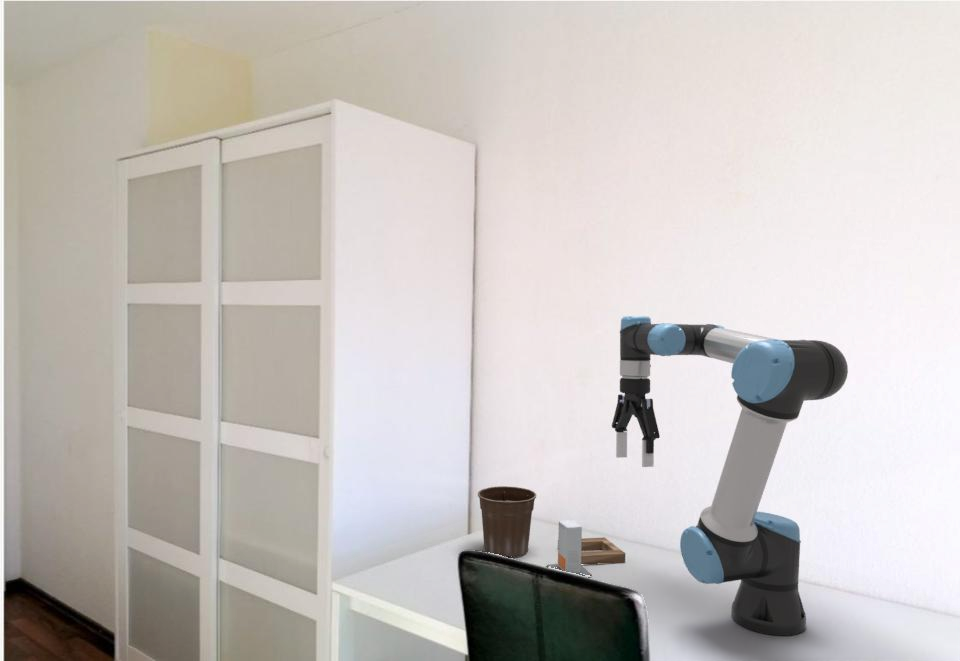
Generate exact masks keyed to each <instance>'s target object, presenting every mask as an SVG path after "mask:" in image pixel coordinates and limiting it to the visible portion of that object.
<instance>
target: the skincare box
mask: <svg viewBox="0 0 960 661" xmlns="http://www.w3.org/2000/svg"><path fill="white" fill-rule="evenodd" d="M582 528H583V527H582V525H580V524H579V523H578V522H577V521H575V520H573V519H569V520H567V519H566V520H565V519H564V520H558V538H557V564H558V567H560V568H561V569H562V570H563V571H566V572H571V573H581V552H582V551H581V542H582V539H583V532H582V531H583V529H582Z"/></svg>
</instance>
